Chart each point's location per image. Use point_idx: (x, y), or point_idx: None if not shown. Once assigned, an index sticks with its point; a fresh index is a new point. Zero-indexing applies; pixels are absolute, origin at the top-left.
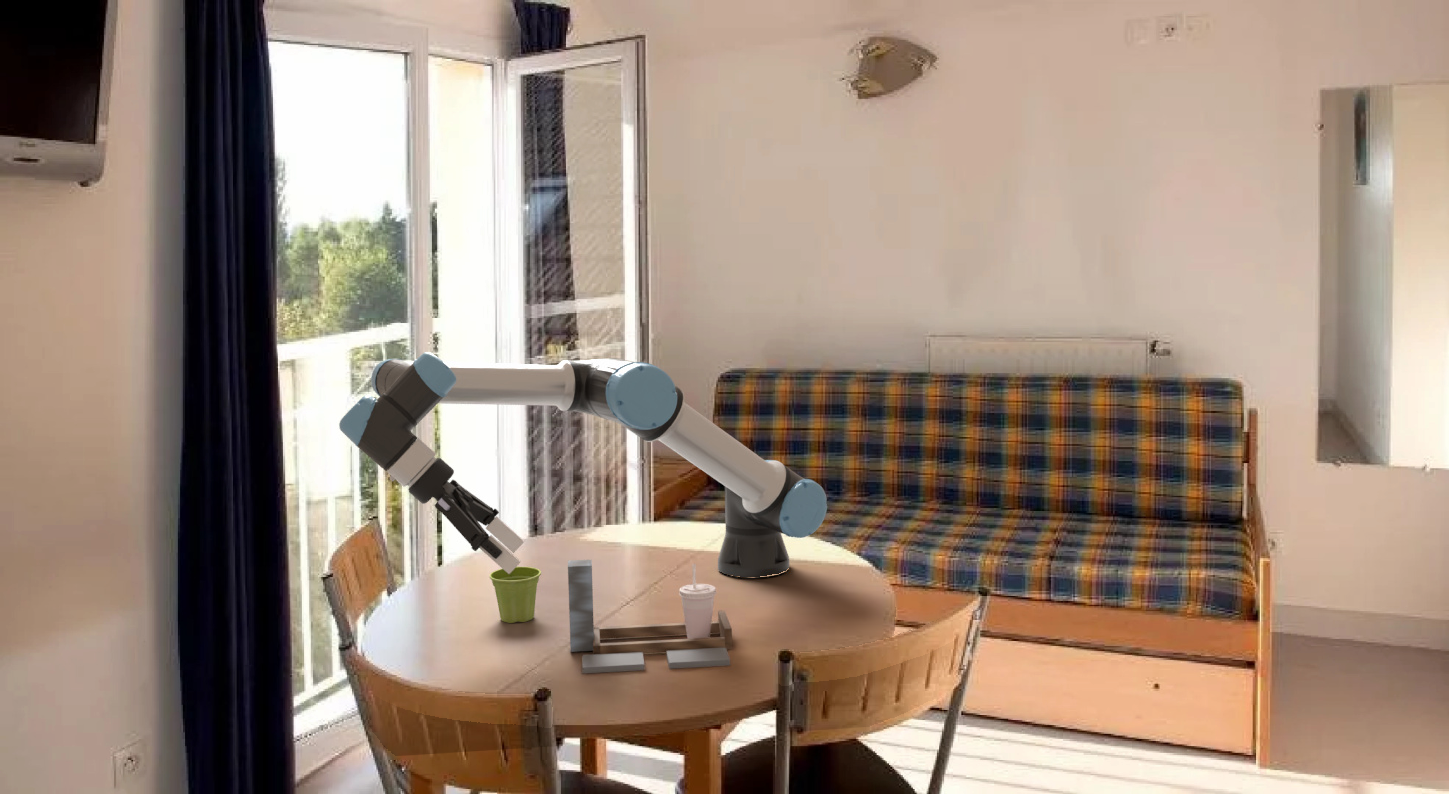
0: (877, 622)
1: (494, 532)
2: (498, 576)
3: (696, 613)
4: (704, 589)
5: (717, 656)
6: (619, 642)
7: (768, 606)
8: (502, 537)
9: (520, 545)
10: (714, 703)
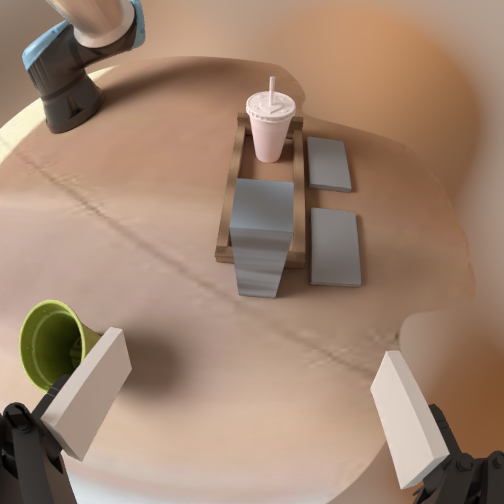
0: (248, 62)
1: (90, 429)
2: (34, 371)
3: (288, 127)
4: (277, 98)
5: (334, 147)
6: (295, 226)
7: (175, 100)
8: (103, 401)
9: (124, 343)
10: (428, 180)
